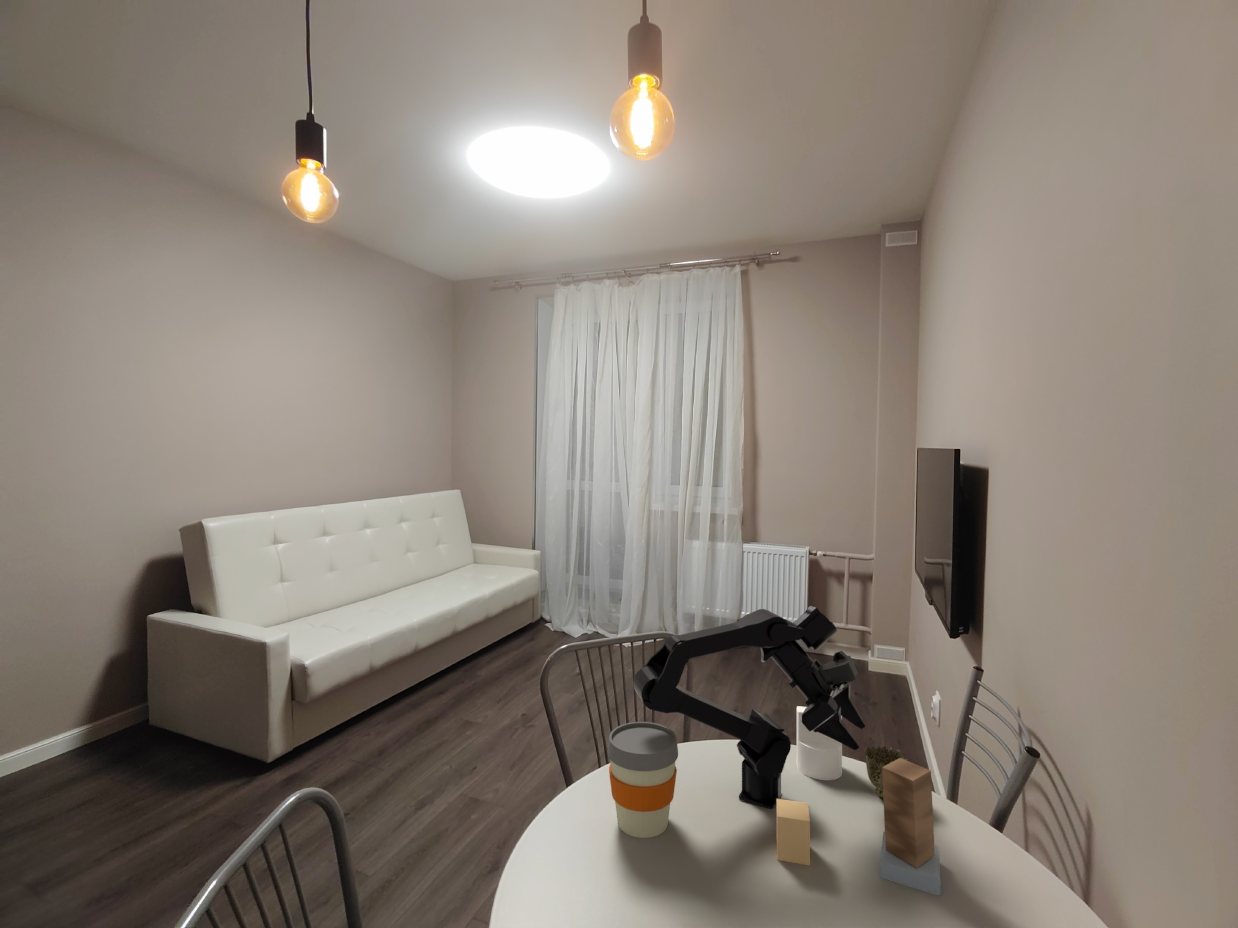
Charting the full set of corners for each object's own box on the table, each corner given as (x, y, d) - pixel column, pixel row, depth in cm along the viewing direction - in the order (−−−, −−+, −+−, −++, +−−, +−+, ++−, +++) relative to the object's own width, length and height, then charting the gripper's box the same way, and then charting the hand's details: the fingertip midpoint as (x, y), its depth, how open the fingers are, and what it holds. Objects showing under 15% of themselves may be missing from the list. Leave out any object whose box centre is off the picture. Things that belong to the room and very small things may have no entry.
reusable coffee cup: (593, 819, 101) (593, 735, 101) (644, 792, 110) (644, 714, 110) (641, 855, 92) (641, 762, 92) (693, 823, 100) (693, 738, 100)
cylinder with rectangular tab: (798, 777, 115) (798, 718, 115) (794, 755, 124) (794, 700, 124) (845, 782, 113) (845, 722, 113) (838, 759, 122) (838, 704, 122)
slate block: (880, 880, 87) (880, 860, 87) (883, 849, 94) (883, 831, 94) (940, 898, 83) (940, 878, 83) (938, 865, 90) (938, 846, 90)
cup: (912, 809, 104) (912, 765, 104) (869, 804, 106) (869, 761, 106) (901, 787, 111) (901, 746, 112) (861, 782, 113) (861, 742, 113)
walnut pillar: (885, 850, 89) (882, 767, 90) (903, 838, 92) (899, 757, 92) (917, 867, 85) (912, 780, 86) (934, 854, 88) (930, 770, 88)
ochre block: (777, 859, 91) (777, 816, 91) (776, 839, 96) (776, 798, 96) (810, 865, 90) (809, 820, 90) (807, 844, 95) (807, 802, 95)
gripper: (820, 655, 98) (891, 734, 93) (837, 628, 114) (898, 694, 109) (775, 692, 102) (840, 770, 96) (797, 661, 118) (854, 726, 113)
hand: (860, 737), depth 103 cm, fingers open, 9 cm apart
